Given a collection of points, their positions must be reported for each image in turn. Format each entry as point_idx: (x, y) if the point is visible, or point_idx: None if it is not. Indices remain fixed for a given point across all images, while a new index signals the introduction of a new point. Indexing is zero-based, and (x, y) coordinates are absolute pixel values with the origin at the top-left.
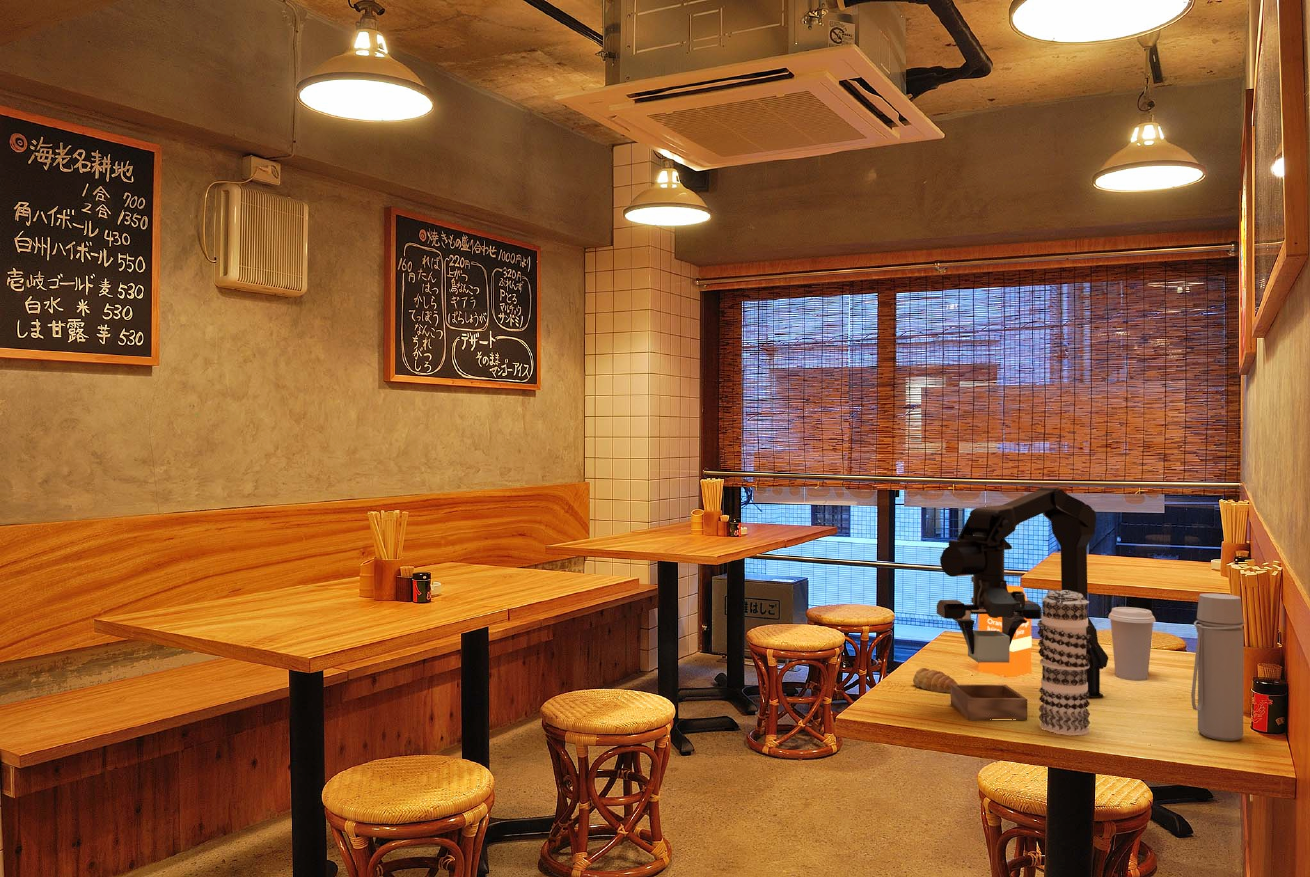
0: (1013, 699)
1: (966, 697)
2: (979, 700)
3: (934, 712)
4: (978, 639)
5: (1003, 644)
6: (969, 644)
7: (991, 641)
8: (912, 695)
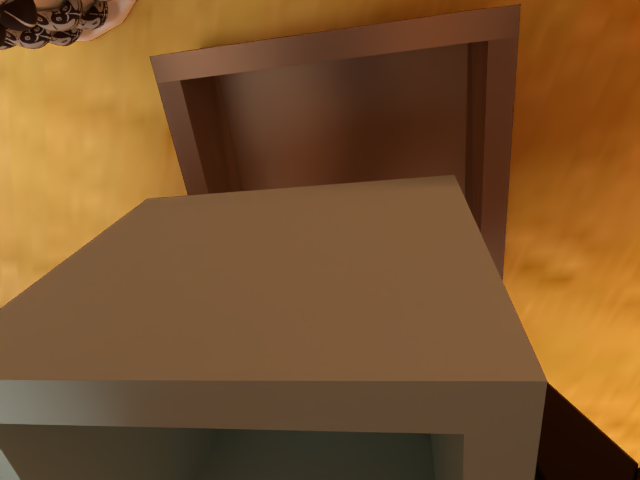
0: (228, 45)
1: (516, 61)
2: (443, 16)
3: (615, 147)
4: (523, 329)
5: (99, 293)
6: (558, 393)
7: (260, 317)
8: (591, 388)
